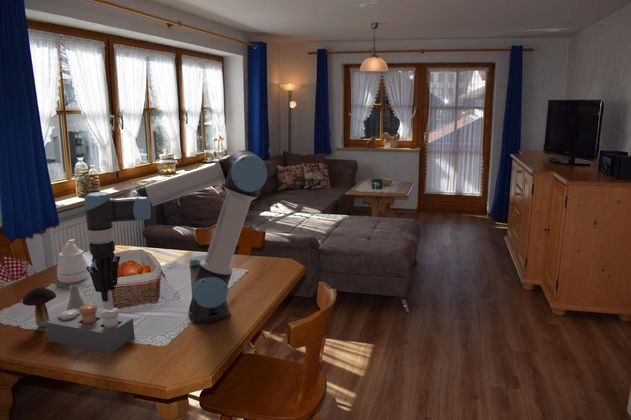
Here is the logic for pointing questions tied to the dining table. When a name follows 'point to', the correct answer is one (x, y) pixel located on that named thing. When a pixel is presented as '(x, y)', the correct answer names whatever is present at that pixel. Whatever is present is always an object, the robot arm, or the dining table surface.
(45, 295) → the decorative mushroom
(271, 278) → the dining table surface
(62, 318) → the far knob
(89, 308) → the middle knob
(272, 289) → the dining table surface
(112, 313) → the near knob
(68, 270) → the honey pot
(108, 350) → the grey rectangular block
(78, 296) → the flask
